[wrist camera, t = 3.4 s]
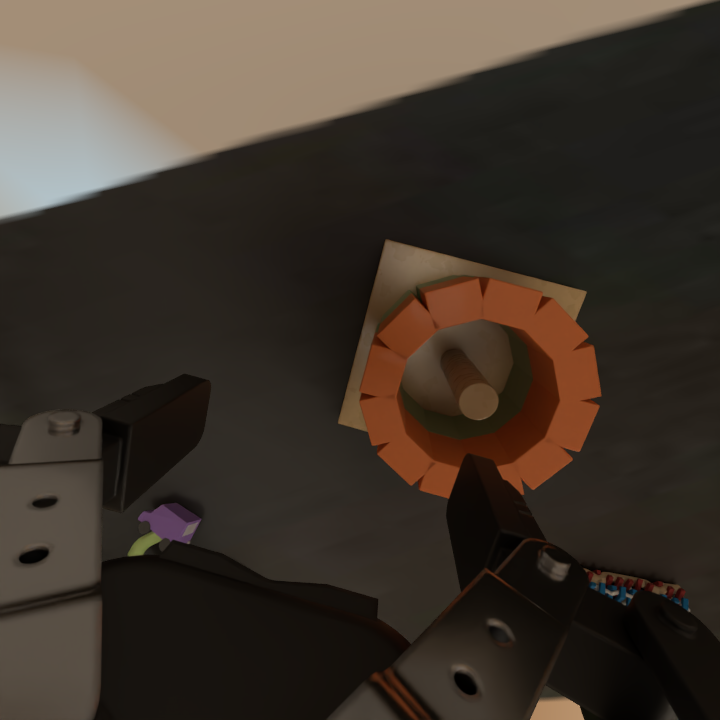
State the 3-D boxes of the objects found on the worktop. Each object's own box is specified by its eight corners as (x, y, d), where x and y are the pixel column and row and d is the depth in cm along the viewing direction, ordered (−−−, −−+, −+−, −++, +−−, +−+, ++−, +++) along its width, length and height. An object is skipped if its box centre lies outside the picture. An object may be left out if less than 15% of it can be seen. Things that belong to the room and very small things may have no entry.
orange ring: (346, 437, 26) (338, 468, 22) (395, 255, 23) (395, 252, 19) (524, 486, 25) (547, 526, 21) (597, 308, 22) (639, 317, 18)
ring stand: (340, 416, 31) (315, 483, 21) (385, 240, 28) (381, 225, 18) (509, 462, 31) (562, 552, 21) (577, 290, 27) (677, 303, 18)
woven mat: (683, 579, 32) (702, 599, 30) (641, 677, 34) (656, 702, 32) (555, 555, 32) (566, 573, 30) (523, 653, 35) (531, 676, 33)
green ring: (353, 415, 29) (346, 437, 26) (395, 257, 26) (395, 255, 23) (506, 457, 29) (524, 486, 25) (567, 302, 26) (597, 308, 22)
